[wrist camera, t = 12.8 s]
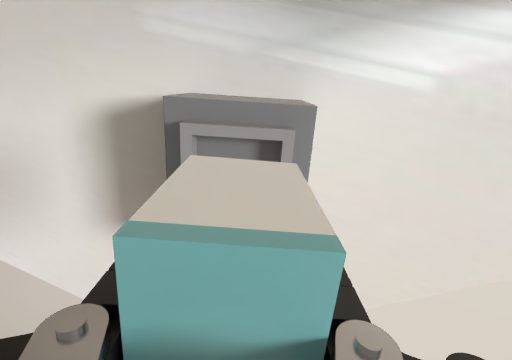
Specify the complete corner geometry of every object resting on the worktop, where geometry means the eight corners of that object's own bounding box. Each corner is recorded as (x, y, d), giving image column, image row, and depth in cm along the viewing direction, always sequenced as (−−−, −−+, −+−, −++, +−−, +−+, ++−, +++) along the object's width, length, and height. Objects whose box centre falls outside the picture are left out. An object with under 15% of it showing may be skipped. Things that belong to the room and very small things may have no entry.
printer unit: (305, 100, 35) (327, 108, 23) (292, 216, 40) (304, 268, 28) (187, 92, 35) (151, 96, 23) (189, 209, 40) (160, 259, 28)
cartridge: (296, 163, 10) (346, 252, 5) (279, 293, 12) (299, 467, 7) (190, 154, 10) (112, 236, 5) (189, 287, 12) (132, 459, 7)
